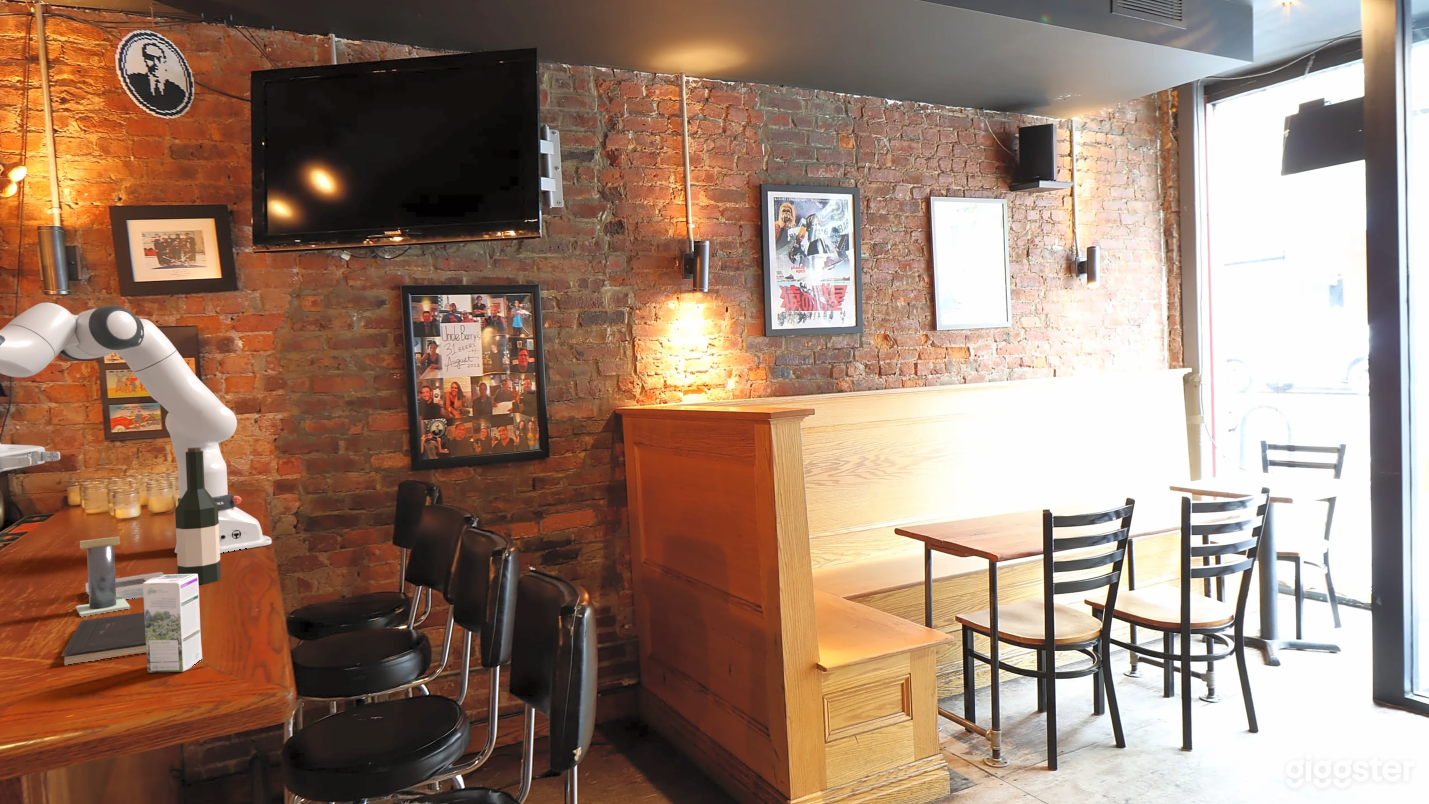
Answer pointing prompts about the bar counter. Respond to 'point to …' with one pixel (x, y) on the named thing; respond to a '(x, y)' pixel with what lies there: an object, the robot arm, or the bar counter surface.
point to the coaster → (86, 611)
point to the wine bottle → (197, 525)
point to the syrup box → (172, 622)
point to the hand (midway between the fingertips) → (45, 458)
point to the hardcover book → (106, 638)
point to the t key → (101, 571)
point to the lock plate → (130, 586)
